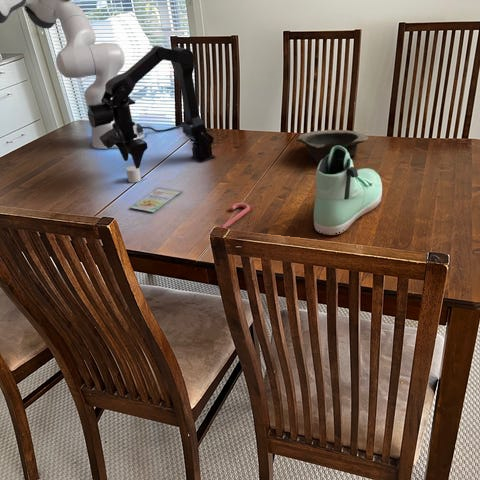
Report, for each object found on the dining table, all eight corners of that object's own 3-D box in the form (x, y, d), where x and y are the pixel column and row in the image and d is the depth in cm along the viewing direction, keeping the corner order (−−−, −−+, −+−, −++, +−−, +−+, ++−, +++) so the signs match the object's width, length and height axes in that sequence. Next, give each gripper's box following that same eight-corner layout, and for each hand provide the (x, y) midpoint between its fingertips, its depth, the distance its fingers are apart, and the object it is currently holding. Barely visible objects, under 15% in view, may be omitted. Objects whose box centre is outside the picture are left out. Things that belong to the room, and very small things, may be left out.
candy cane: (207, 226, 136) (206, 221, 135) (237, 204, 146) (237, 200, 145) (224, 231, 132) (223, 227, 132) (254, 208, 143) (253, 204, 142)
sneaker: (389, 187, 148) (396, 123, 138) (356, 242, 123) (361, 168, 112) (346, 181, 154) (350, 119, 144) (306, 232, 129) (307, 161, 118)
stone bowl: (325, 174, 159) (324, 147, 155) (285, 157, 179) (283, 133, 175) (382, 156, 168) (383, 130, 164) (338, 142, 188) (338, 118, 184)
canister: (135, 183, 165) (132, 171, 163) (125, 181, 167) (123, 169, 165) (143, 178, 168) (141, 166, 166) (134, 176, 170) (132, 164, 168)
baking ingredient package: (130, 206, 148) (157, 187, 159) (130, 208, 148) (157, 189, 160) (153, 211, 144) (180, 191, 156) (153, 212, 145) (180, 192, 156)
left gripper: (-72, 44, 148) (-55, 89, 156) (-4, 34, 159) (9, 77, 166) (-76, 43, 153) (-59, 87, 160) (-10, 33, 163) (4, 74, 170)
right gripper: (89, 119, 159) (99, 163, 167) (111, 132, 146) (121, 179, 154) (120, 112, 164) (128, 154, 173) (144, 123, 151) (152, 169, 159)
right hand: (131, 164), depth 164 cm, fingers open, 9 cm apart
